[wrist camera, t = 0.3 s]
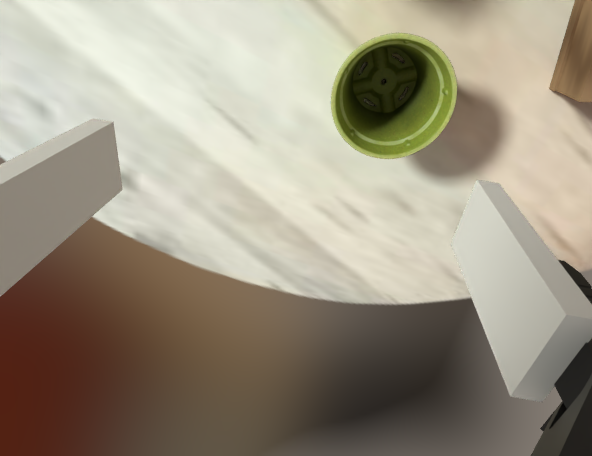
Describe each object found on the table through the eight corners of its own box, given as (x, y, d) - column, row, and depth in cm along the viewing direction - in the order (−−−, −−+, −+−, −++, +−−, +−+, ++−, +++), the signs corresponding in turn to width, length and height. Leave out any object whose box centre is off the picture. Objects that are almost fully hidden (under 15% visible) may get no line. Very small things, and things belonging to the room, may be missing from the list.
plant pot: (368, 3, 34) (373, 6, 27) (457, 57, 35) (485, 74, 28) (317, 99, 39) (309, 125, 31) (397, 144, 40) (407, 178, 33)
